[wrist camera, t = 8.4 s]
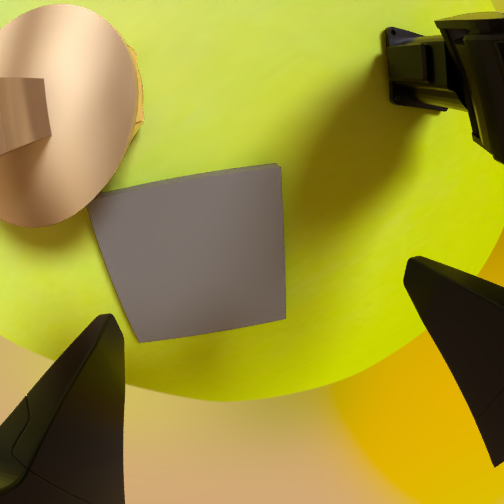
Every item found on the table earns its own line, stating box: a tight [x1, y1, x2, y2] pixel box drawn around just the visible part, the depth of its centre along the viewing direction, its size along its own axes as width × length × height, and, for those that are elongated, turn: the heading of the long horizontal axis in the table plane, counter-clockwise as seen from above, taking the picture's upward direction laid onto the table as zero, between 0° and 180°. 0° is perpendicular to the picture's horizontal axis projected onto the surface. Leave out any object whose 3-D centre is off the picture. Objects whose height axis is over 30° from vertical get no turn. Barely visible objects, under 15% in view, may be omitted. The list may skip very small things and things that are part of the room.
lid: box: [0, 4, 139, 228], centre depth 8 cm, size 12×12×5 cm
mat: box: [86, 163, 286, 343], centre depth 21 cm, size 13×13×1 cm
